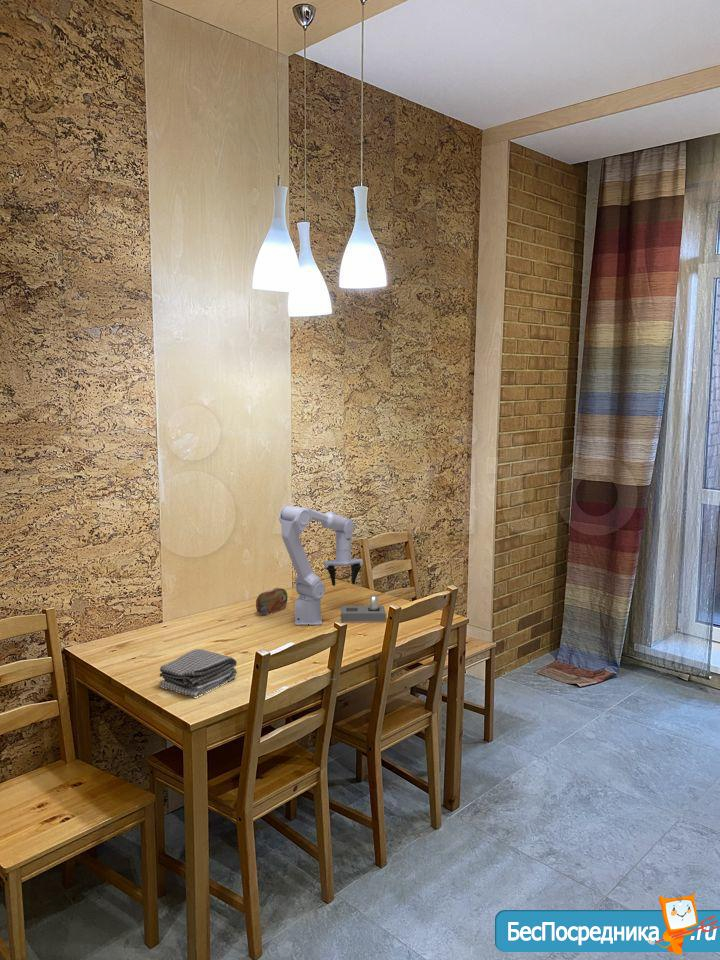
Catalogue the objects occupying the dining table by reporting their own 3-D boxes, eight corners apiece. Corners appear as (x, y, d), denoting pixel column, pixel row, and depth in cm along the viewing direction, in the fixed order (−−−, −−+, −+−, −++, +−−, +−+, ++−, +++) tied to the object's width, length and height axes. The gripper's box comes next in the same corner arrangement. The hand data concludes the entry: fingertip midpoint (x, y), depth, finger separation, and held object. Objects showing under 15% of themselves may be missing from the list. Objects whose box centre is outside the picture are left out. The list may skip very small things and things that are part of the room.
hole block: (341, 622, 272) (341, 613, 272) (340, 614, 281) (340, 605, 280) (385, 622, 273) (385, 613, 272) (383, 614, 281) (383, 605, 281)
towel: (239, 678, 223) (238, 653, 222) (193, 701, 208) (192, 673, 207) (202, 667, 231) (201, 643, 230) (155, 688, 216) (154, 662, 215)
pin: (369, 618, 275) (369, 597, 274) (369, 616, 278) (369, 594, 277) (377, 618, 275) (378, 597, 274) (377, 616, 278) (378, 595, 277)
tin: (260, 617, 278) (260, 595, 276) (254, 616, 279) (254, 594, 278) (288, 607, 289) (288, 586, 288) (282, 606, 291) (282, 585, 290)
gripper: (327, 552, 276) (327, 588, 278) (365, 550, 280) (365, 585, 282) (322, 548, 283) (322, 583, 285) (359, 546, 287) (359, 580, 289)
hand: (343, 584), depth 284 cm, fingers open, 7 cm apart
